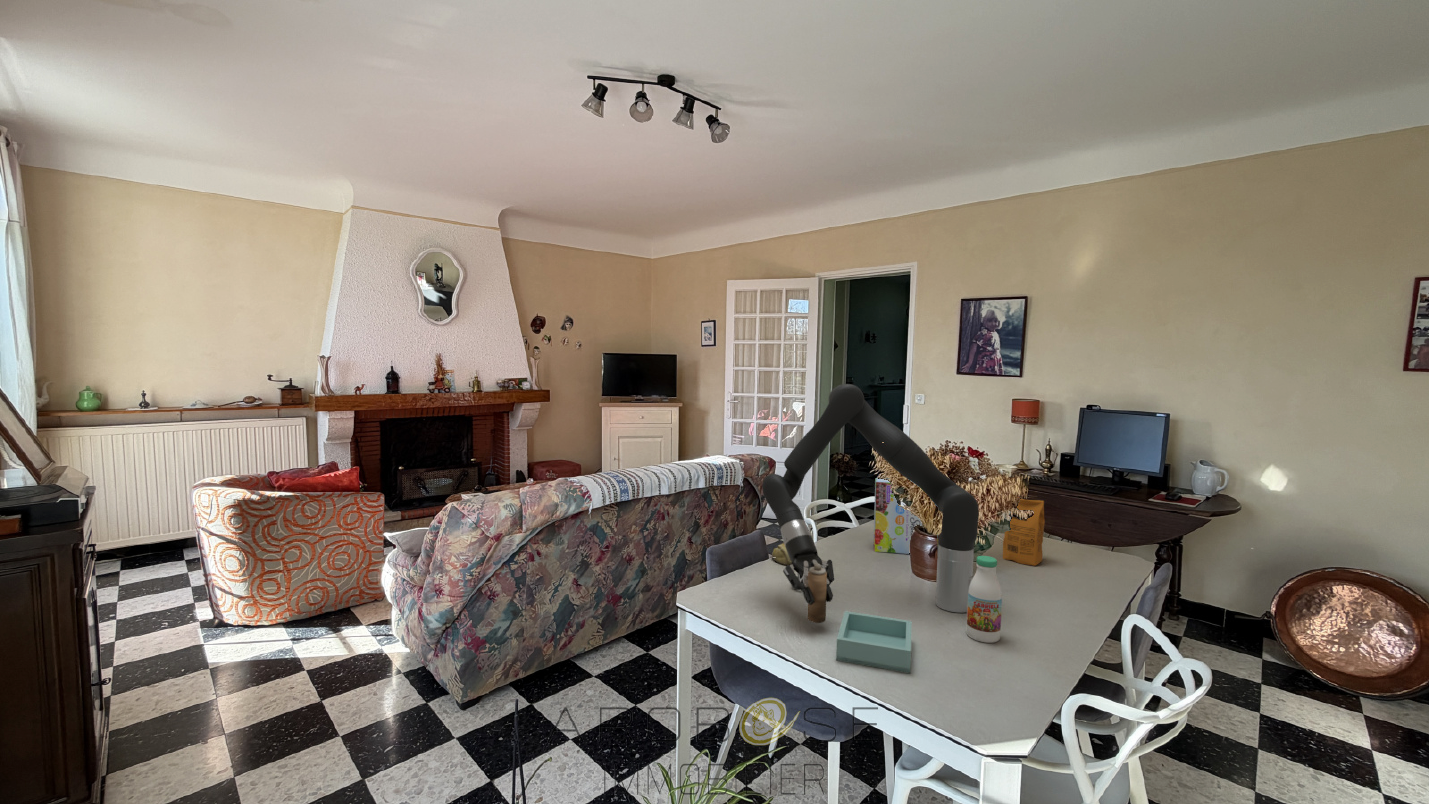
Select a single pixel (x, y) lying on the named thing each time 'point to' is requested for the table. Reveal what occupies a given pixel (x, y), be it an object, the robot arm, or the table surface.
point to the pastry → (781, 555)
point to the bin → (875, 641)
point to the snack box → (891, 521)
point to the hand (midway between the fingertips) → (821, 601)
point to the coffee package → (1025, 535)
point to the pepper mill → (817, 593)
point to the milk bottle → (984, 602)
